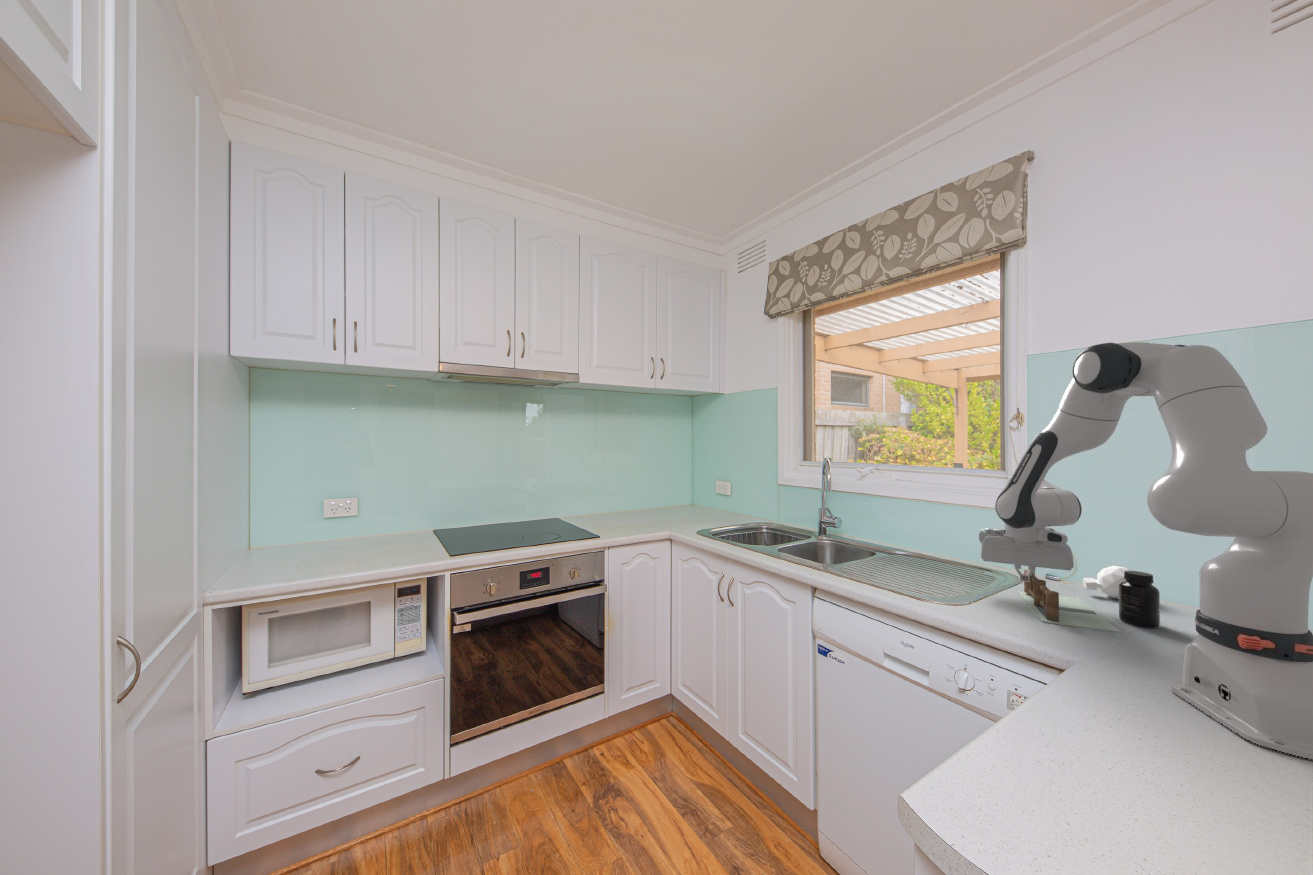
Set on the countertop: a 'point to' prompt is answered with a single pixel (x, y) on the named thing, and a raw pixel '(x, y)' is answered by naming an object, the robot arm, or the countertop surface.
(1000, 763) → the countertop surface
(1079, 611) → the mat
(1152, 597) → the supplement bottle
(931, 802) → the countertop surface
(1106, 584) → the perfume bottle
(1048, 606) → the fence fixed
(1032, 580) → the fence gate
